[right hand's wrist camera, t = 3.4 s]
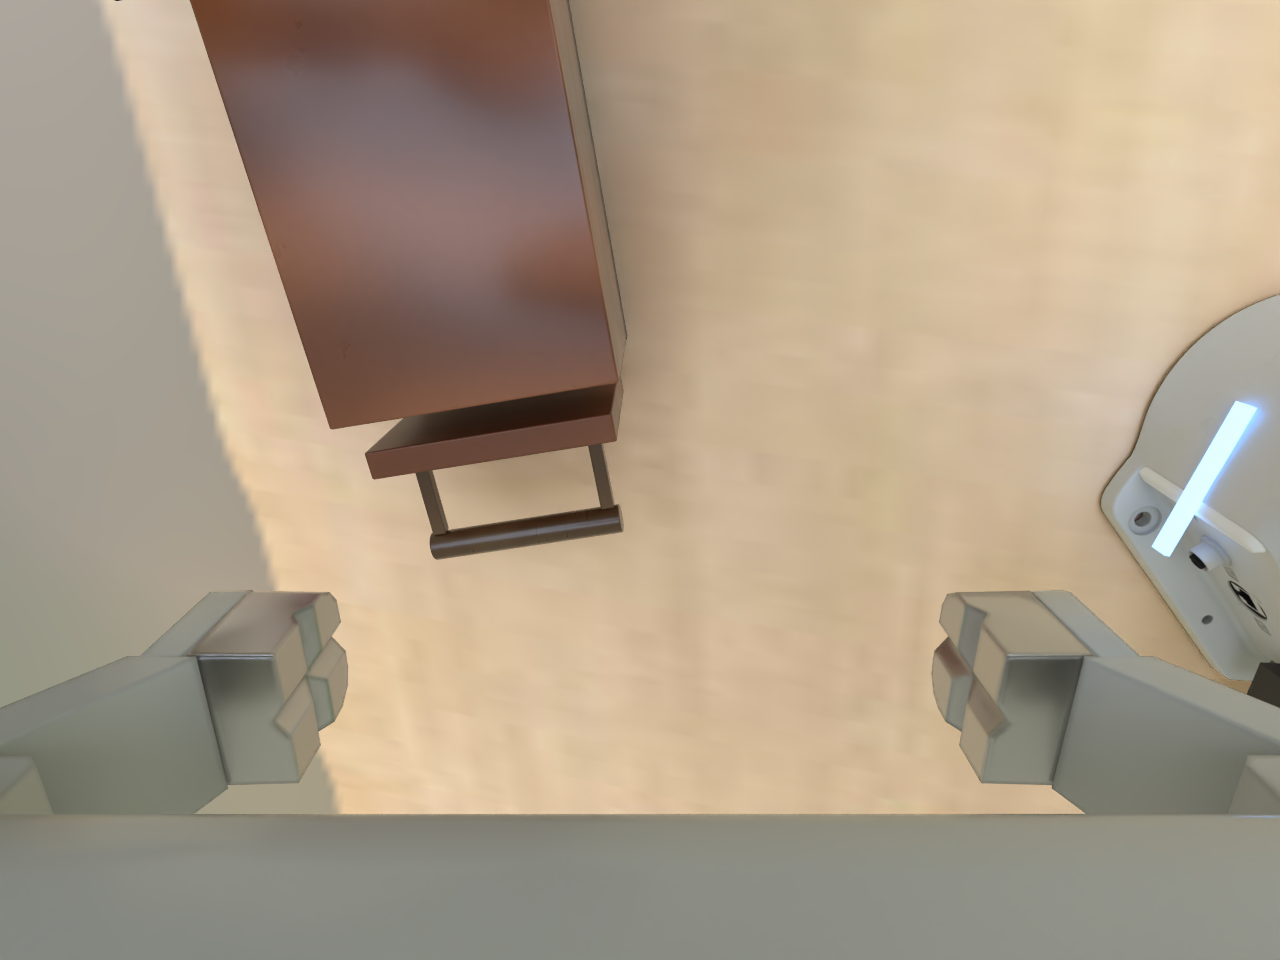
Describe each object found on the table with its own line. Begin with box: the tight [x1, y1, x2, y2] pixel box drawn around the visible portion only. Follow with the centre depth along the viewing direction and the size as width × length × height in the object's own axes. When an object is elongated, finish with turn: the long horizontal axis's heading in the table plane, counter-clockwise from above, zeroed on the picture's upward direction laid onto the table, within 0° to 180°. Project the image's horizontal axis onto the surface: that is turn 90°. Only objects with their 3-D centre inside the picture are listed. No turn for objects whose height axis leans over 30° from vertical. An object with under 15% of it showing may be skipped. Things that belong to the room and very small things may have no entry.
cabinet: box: [190, 0, 627, 429], centre depth 31 cm, size 20×12×10 cm, turn 10°
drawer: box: [365, 375, 623, 560], centre depth 33 cm, size 24×10×8 cm, turn 10°
